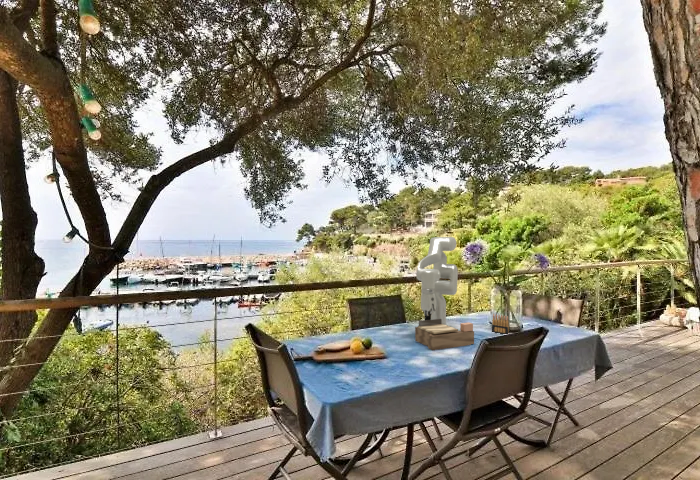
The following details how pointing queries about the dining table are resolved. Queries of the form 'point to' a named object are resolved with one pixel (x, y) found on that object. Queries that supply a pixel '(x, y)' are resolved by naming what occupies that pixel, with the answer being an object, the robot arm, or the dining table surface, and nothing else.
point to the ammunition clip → (500, 325)
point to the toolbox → (444, 339)
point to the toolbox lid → (435, 326)
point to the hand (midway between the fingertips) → (427, 322)
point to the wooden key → (466, 327)
